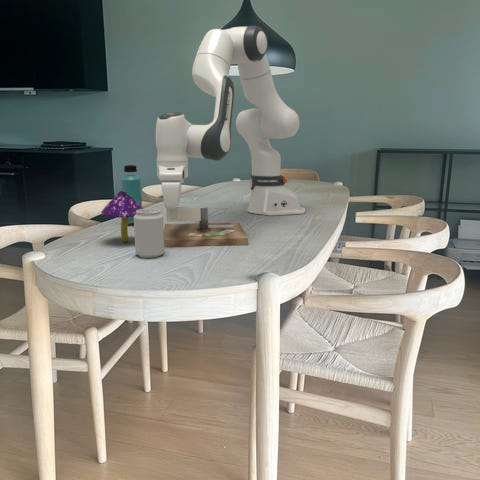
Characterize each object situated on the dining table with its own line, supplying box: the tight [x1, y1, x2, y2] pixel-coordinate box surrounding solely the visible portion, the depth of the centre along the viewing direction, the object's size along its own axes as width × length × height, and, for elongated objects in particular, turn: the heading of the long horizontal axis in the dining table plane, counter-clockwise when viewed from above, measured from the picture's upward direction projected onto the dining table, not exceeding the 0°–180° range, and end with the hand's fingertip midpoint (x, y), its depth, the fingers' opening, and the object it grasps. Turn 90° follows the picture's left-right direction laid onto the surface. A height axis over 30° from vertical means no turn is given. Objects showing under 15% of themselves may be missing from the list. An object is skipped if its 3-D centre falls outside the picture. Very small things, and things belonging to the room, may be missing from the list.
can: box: [133, 208, 165, 259], centre depth 125 cm, size 8×8×12 cm
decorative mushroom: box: [100, 190, 145, 243], centre depth 138 cm, size 12×12×15 cm
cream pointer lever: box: [165, 206, 233, 230], centre depth 146 cm, size 20×3×7 cm, turn 97°
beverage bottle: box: [121, 164, 143, 223], centre depth 161 cm, size 6×7×20 cm
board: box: [164, 222, 249, 248], centre depth 146 cm, size 24×22×2 cm
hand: (174, 218), depth 141 cm, fingers closed
